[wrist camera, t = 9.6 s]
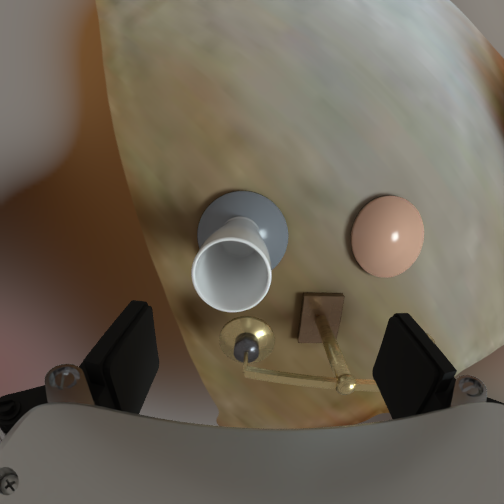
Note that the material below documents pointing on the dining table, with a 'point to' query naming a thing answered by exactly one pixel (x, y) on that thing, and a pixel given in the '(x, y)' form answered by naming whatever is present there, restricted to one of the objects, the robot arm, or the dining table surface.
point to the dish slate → (253, 209)
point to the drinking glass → (233, 267)
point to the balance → (310, 331)
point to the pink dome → (387, 236)
